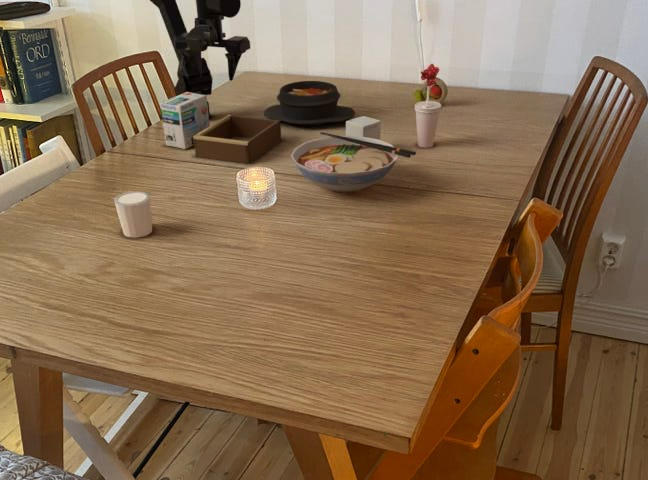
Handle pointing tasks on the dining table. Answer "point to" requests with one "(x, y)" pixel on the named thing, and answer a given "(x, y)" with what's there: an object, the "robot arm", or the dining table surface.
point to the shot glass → (134, 213)
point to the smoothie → (427, 121)
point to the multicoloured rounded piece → (436, 91)
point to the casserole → (309, 104)
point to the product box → (364, 127)
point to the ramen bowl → (346, 161)
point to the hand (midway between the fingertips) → (215, 78)
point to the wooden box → (221, 148)
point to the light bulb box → (184, 118)
